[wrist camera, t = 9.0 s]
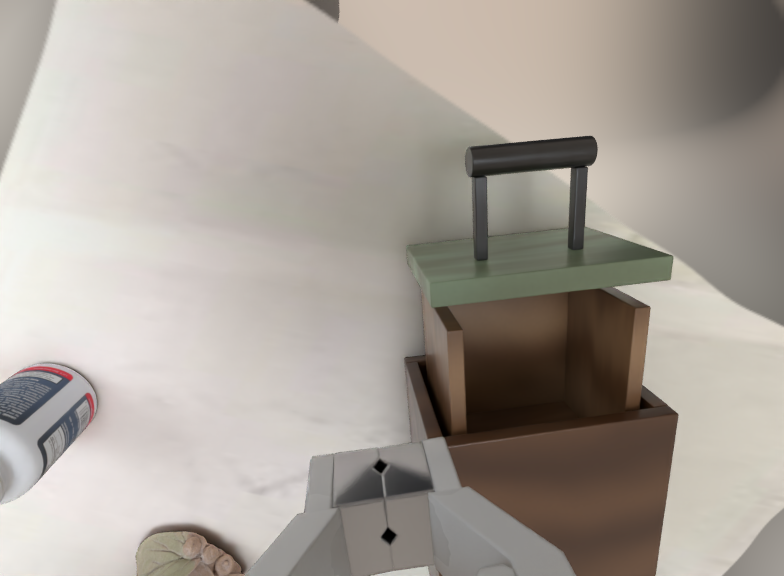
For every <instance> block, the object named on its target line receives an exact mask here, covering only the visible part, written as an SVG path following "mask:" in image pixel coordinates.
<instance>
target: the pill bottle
mask: <svg viewBox="0 0 784 576" xmlns="http://www.w3.org/2000/svg"><path fill="white" fill-rule="evenodd" d="M96 410H97V398H96V395H95V392H94V390H93V388H92V387H91V385H90V384H89V383H88V381H87V380H86V379H85V378H83V377H82V376H81V375H80V374H78V373H77V372H75V371H74V370H72V369H70V368H67V367H64V366H61V365H57V364H36V365H32V366H29V367H26V368H24V369H22V370H20V371H19V372H17V373H16V374H14V375H13V376H11V377H10V378H8V379H7V380H6V381H4V382H3V383H2V384H0V504H4V503H7V502H10V501H13V500H15V499H17V498H19V497H20V496H22V495H23V494H25V493H26V492H27V491H29V490H30V489H31V488H32V487H33V486H34V485H35V484H36V483H37V482H38V481H39V479H40V478H41V477H42V476H43V475H44V474H45V473H46V472H47V471H48V469H49V468H50V467H51V466H52V465H53V464H54V463H55V462H56V461H57V459H58V458H59V457H60V456H61V455H62V454H63V453H64V452H65V451H66V449H67V448H68V447H69V446H70V445H71V444H72V443H73V442H74V441H75V440H76V438H77V437H78V436H79V435H80V434H81V433H82V432H83V431H84V430H85V428H86V427H87V426H88V425H89V424H90V422H91V421H92V420H93V418H94V416H95V413H96Z"/></svg>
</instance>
